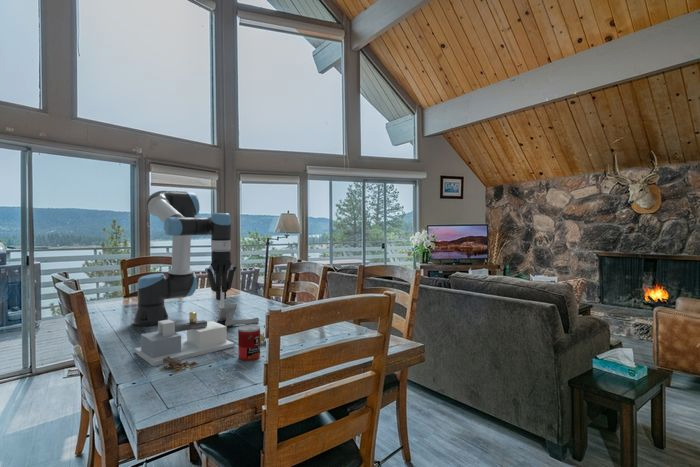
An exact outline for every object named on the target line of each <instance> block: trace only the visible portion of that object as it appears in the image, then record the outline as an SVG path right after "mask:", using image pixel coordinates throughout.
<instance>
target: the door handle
mask: <svg viewBox="0 0 700 467" xmlns="http://www.w3.org/2000/svg"><path fill="white" fill-rule="evenodd" d="M237 306H238V304H237V303H231V304H224V308H220V309H219V314H218V317H217V320H218V322H221V321H224V324H225V325H224V326H227V328H228V327H233V326H236V325H238V326H239V325H252V324H251V323H255V324H259V322H260V319H259V317H255V318H246V319H245V318H243V319H233V317H234V315H235V312H236V310H237Z"/></svg>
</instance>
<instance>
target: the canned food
mask: <svg viewBox="0 0 700 467" xmlns="http://www.w3.org/2000/svg"><path fill="white" fill-rule="evenodd" d="M237 331H238V332H237V335H238V336H237V338H238V339H237V340H238V341H237V342H238V354H237V355H238V358H239V360H241V361H243V362H244V361H245V362H251V361H255V360H257V359H260V356H261V345H260V334H261V327H260V326H259V325H257V324H243V325H240V326H239V327H238V330H237Z"/></svg>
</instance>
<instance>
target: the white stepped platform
mask: <svg viewBox="0 0 700 467" xmlns="http://www.w3.org/2000/svg"><path fill="white" fill-rule="evenodd" d="M175 325H176V321H174V320H171V319H168V320H163V321H158V325H157V331H156V330H155V331H152V332H146V333H141V334H140V347H135V348H134V353H135V354H136V355H138V356H139V357H140V358H142V359H143V360H144V361H145V362H147V363H148V364H150V366H152V367H156V366H159V365H160V366H161V365H164V364H166V363H163V358H167V357H168V356H170V358H177V359H178V360H179V361H181V360H184V359H190V358H192V357H197V356H201V355H206V354H210V353H214V352H219V351H223V350H228V349H230V348H234V347H235V343H234V342H232V341H230V340H228V339H227V337H228V335H227V334H228V333H227V330H228V329H227V328H228V327H227V326H225V325H223V324H221V323H218V322H216V321H213V320H212V321H207V327H201V328H196V329H191V330H186V337H185V338H182V335H181V334H179V333H178V332H175Z"/></svg>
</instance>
